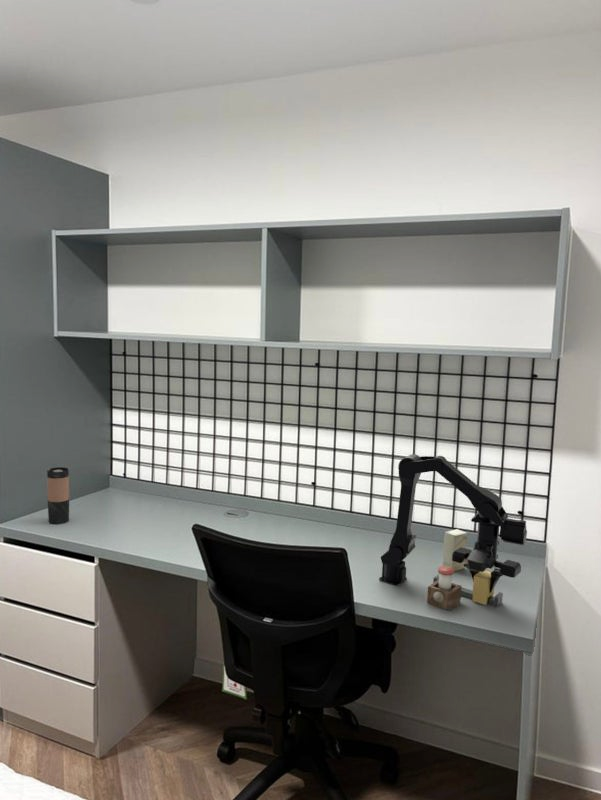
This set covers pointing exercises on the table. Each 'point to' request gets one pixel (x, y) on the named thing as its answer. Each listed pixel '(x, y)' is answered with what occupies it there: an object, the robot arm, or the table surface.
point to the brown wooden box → (444, 596)
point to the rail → (468, 593)
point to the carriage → (482, 587)
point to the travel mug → (58, 495)
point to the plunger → (445, 577)
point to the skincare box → (453, 548)
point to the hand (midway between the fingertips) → (483, 590)
